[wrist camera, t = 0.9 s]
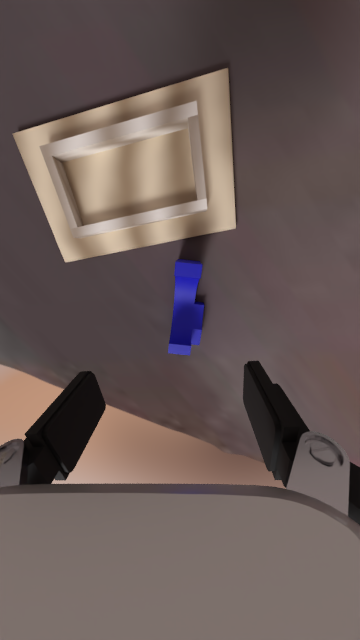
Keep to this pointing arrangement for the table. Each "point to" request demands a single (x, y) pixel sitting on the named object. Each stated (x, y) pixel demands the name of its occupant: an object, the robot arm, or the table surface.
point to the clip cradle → (136, 169)
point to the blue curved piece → (186, 308)
